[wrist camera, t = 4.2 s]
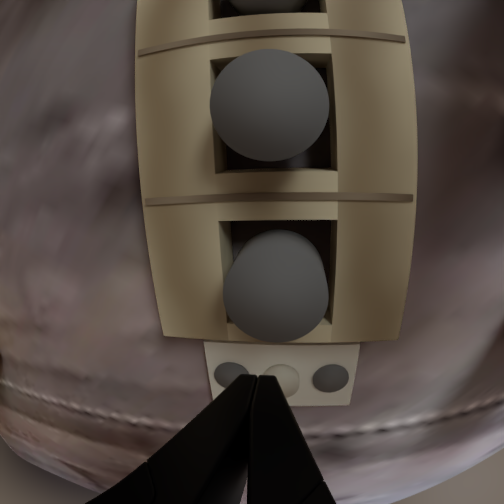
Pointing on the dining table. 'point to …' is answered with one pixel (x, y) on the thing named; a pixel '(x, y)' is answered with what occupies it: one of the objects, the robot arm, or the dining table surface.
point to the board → (278, 179)
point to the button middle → (269, 105)
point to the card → (288, 368)
